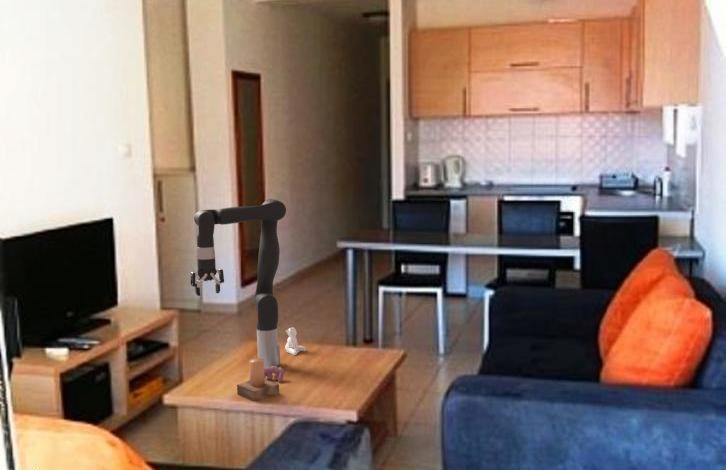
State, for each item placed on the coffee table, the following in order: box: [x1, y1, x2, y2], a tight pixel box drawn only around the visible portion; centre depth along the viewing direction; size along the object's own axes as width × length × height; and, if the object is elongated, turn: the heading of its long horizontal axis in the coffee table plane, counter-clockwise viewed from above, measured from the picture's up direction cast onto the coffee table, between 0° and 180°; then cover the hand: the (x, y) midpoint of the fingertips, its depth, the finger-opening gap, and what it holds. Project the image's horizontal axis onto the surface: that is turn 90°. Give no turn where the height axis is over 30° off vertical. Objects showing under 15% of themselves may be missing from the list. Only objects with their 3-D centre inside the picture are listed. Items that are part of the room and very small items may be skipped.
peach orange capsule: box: [248, 357, 266, 387], centre depth 301 cm, size 6×6×10 cm
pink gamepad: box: [264, 366, 286, 384], centre depth 319 cm, size 10×5×7 cm, turn 73°
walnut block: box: [236, 378, 280, 402], centre depth 302 cm, size 12×12×4 cm
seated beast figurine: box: [284, 327, 306, 356], centre depth 359 cm, size 10×9×12 cm
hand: (208, 294), depth 323 cm, fingers open, 8 cm apart
